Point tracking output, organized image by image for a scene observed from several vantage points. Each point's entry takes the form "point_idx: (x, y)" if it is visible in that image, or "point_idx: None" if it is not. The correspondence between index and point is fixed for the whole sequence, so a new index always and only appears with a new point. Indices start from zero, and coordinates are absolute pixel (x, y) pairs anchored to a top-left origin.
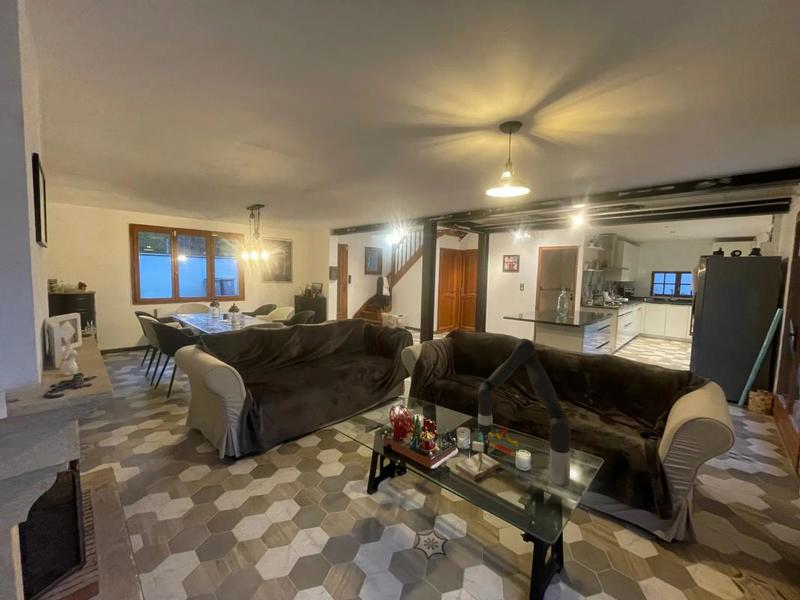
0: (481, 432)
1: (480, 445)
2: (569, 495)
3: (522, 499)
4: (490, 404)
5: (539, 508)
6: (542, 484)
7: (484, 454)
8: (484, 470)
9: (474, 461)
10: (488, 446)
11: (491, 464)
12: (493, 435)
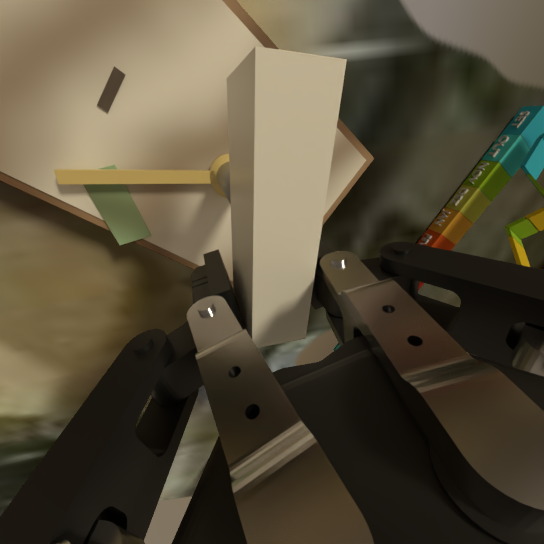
0: (538, 514)
1: (246, 240)
2: (167, 490)
3: (17, 425)
4: None
5: (4, 476)
6: (191, 435)
7: (340, 192)
8: (114, 230)
9: (219, 118)
10: (137, 435)
11: (227, 260)
12: (523, 235)
